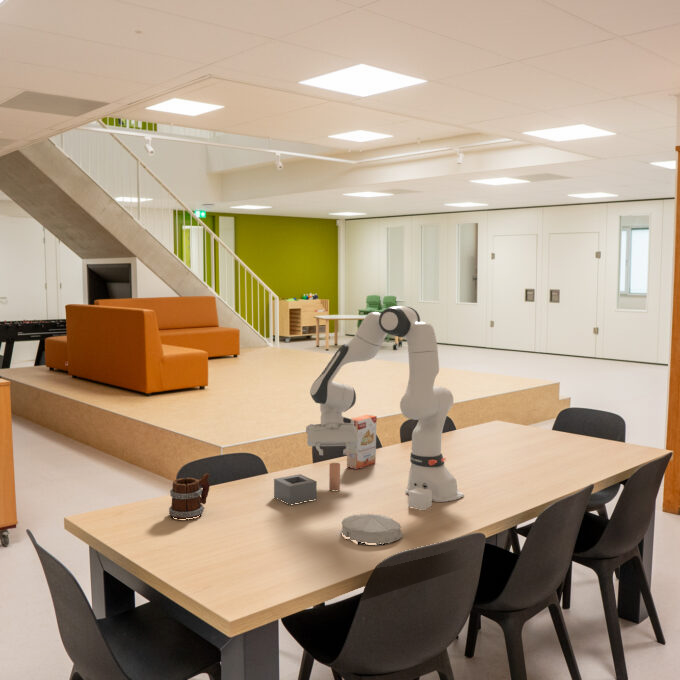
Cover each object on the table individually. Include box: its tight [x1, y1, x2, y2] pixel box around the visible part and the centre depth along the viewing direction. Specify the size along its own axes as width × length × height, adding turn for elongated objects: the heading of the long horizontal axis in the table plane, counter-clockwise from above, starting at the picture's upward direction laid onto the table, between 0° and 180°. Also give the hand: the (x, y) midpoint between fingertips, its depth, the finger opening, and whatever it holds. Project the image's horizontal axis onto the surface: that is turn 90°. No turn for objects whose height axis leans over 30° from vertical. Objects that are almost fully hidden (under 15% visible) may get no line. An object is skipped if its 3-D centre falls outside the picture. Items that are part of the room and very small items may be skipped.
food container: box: [340, 513, 403, 545], centre depth 224 cm, size 20×20×7 cm
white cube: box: [408, 487, 433, 511], centre depth 250 cm, size 6×6×6 cm
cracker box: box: [346, 414, 378, 470], centre depth 303 cm, size 14×6×21 cm, turn 143°
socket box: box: [273, 473, 318, 506], centre depth 258 cm, size 11×11×7 cm
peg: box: [328, 462, 341, 491], centre depth 269 cm, size 4×4×10 cm
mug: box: [168, 472, 211, 519], centre depth 241 cm, size 12×14×15 cm
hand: (333, 454), depth 275 cm, fingers open, 8 cm apart
